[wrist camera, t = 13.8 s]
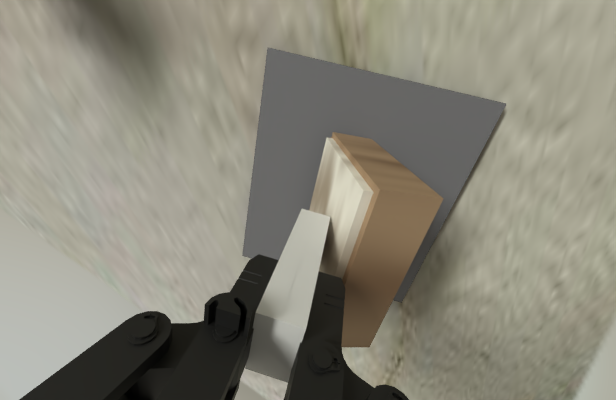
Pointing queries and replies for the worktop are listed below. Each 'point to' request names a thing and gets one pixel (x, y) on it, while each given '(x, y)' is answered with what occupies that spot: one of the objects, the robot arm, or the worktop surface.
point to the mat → (363, 123)
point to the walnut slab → (369, 227)
